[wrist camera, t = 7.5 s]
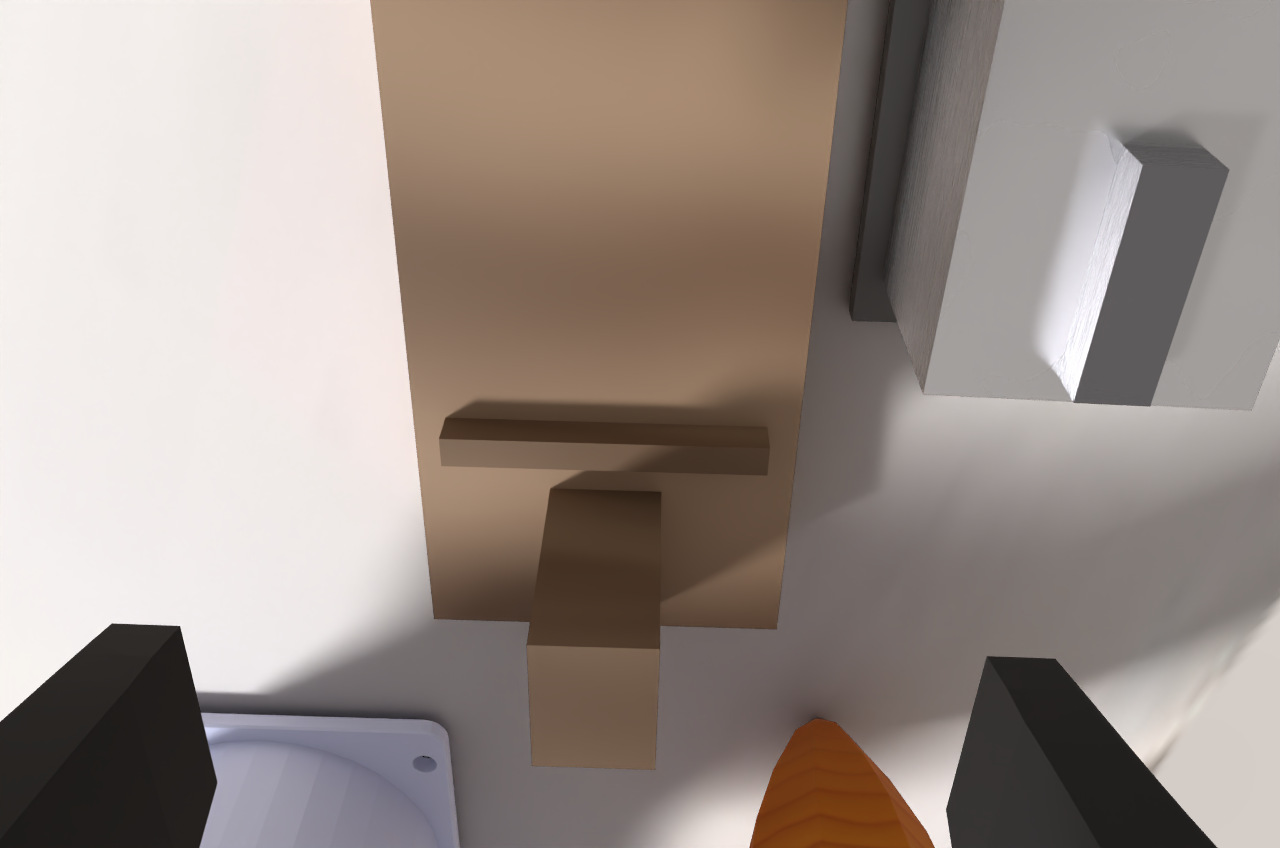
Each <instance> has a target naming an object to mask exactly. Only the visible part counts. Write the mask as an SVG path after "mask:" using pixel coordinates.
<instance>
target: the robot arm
mask: <svg viewBox="0 0 1280 848" xmlns="http://www.w3.org/2000/svg"><path fill="white" fill-rule="evenodd" d="M422 756H427V757H431V758H425V757H422ZM946 812H947V818H948V825H949V831H950V838H951V845H952V848H1217V847H1216V846H1215V845H1214V843H1213V842H1212V841H1211V840H1210V839H1209V838H1208V837H1207V836H1206V834H1204V832H1203V831H1202V830H1201V829H1200V828H1199V827H1198V826H1197V825H1196V823H1195V822H1194V821H1193V820H1192V819H1191V818H1190V817H1189V816H1188V815H1187V814H1186V812H1185V811H1184V810H1183V809H1182V808H1181V806H1180V805H1179V804H1178V803H1177V802H1176V801H1175V800H1174V798H1173V797H1172V796H1171V795H1170V794H1169V793H1168V791H1167V790H1166V789H1165V788H1164V787H1163V786H1162V785H1161V783H1160V782H1159V781H1158V780H1157V779H1156V777H1155V776H1154V775H1153V774H1152V773H1151V772H1150V770H1149V769H1148V768H1147V767H1146V766H1145V765H1144V763H1143V762H1142V761H1141V760H1140V759H1139V757H1138V756H1137V755H1136V754H1135V753H1134V752H1133V750H1132V749H1131V748H1130V747H1129V746H1128V744H1127V743H1126V742H1125V741H1124V740H1123V739H1122V737H1121V736H1120V735H1119V734H1118V733H1117V731H1116V730H1115V729H1114V728H1113V727H1112V725H1111V724H1110V723H1109V722H1108V721H1107V719H1106V718H1105V717H1104V716H1103V715H1102V713H1101V712H1100V711H1099V710H1098V709H1097V707H1096V706H1095V705H1094V704H1093V703H1092V701H1091V700H1090V699H1089V698H1088V697H1087V696H1086V694H1085V693H1084V692H1083V691H1082V690H1081V688H1080V687H1079V686H1078V685H1077V684H1076V682H1075V681H1074V680H1073V679H1072V678H1071V677H1070V675H1069V674H1068V673H1067V672H1066V671H1065V670H1064V669H1063V667H1062V666H1061V665H1060V664H1059V663H1058V662H1057V660H1056V659H1046V658H1019V657H992V656H987V658H986V661H985V665H984V669H983V673H982V677H981V680H980V684H979V688H978V692H977V695H976V699H975V703H974V707H973V710H972V714H971V718H970V722H969V725H968V729H967V733H966V737H965V741H964V744H963V748H962V752H961V756H960V759H959V763H958V767H957V771H956V774H955V778H954V782H953V786H952V789H951V793H950V797H949V801H948V805H947V808H946ZM0 848H460V844H459V834H458V824H457V815H456V805H455V795H454V785H453V775H452V765H451V756H450V746H449V736H448V734H447V731H446V730H445V729H444V728H443V727H442V726H441V725H440V724H438V723H435V722H433V721H429V720H417V719H384V718H352V717H319V716H287V715H254V714H222V713H201V711H200V707H199V703H198V699H197V695H196V691H195V687H194V682H193V678H192V674H191V670H190V666H189V662H188V657H187V653H186V649H185V645H184V641H183V637H182V632H181V628H180V626H163V625H136V624H111V625H110V626H109V627H107V628H106V629H105V630H104V631H103V632H102V633H100V634H99V635H98V636H97V637H96V638H95V639H93V640H92V641H91V642H90V643H89V644H88V645H87V646H85V647H84V648H83V649H82V650H81V651H80V652H79V653H77V654H76V655H75V656H74V657H73V658H72V659H71V660H69V661H68V662H67V663H66V664H65V665H64V666H63V667H62V668H60V669H59V670H58V671H57V672H56V673H55V674H54V675H52V676H51V677H50V678H49V679H48V680H47V681H46V682H45V683H43V684H42V685H41V686H40V687H39V688H38V689H37V690H36V691H34V692H33V693H32V694H31V695H30V696H29V697H28V698H27V699H25V700H24V701H23V702H22V703H21V704H20V705H19V706H18V707H16V708H15V709H14V710H13V711H12V712H11V713H10V714H9V715H7V716H6V717H5V718H4V719H3V720H2V721H1V722H0Z"/></svg>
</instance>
